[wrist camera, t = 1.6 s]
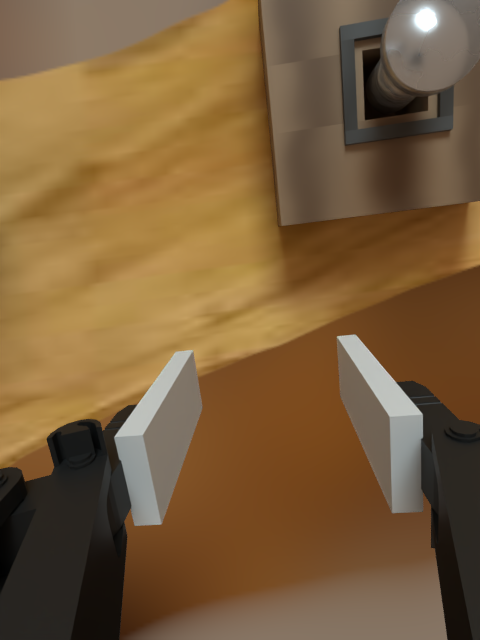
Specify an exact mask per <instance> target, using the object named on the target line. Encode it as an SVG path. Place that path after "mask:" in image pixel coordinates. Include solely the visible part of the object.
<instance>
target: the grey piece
mask: <svg viewBox="0 0 480 640" xmlns="http://www.w3.org/2000/svg"><path fill="white" fill-rule="evenodd" d="M380 57H381V58H380V60H379V61H378V63H377V64H376V66H375V67H374V69H373V70H372V72H371V73H370V75H369V77H368V80H367V83H366V96H367V99H368V101H369V103H370V105H371V106H372V107H373V108H374V109H375V110H377V111H378V112H381V113H386V114H389V113H395V112H397V111H399V110H401V109H403V108H404V107H405V106H406V105H407V104H408V103H410V102H411V101H412V100H413V99H414V98H415V97H426V96H432V95H436V94H439V93H441V92H443V91H445V90H447V89H448V88H450V87H451V86H453V85H454V84H456V83H457V82H458V81H459V80H461V79H462V78H463V77H464V76H466V75H467V74H468V73H469V72H470V71H471V70H472V69H473V68H474V66H475V65H476V64H477V62H478V61H479V59H480V0H399V2H398V3H397V5H396V7H395V8H394V10H393V12H392V13H391V15H390V17H389V19H388V21H387V23H386V25H385V27H384V30H383V33H382V37H381V43H380Z"/></svg>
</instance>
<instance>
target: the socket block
mask: <svg viewBox="0 0 480 640" xmlns="http://www.w3.org/2000/svg"><path fill="white" fill-rule="evenodd" d="M398 2H399V0H258V14H259V25H260V36H261V46H262V57H263V68H264V78H265V89H266V100H267V110H268V121H269V132H270V142H271V153H272V163H273V174H274V185H275V195H276V206H277V217H278V226H286V225H293V224H301V223H309V222H317V221H325V220H333V219H341V218H349V217H357V216H365V215H373V214H381V213H388V212H396V211H404V210H412V209H420V208H428V207H436V206H444V205H452V204H460V203H468V202H476V201H480V59H479V61H478V62H477V64H476V65H475V66H474V68H473V69H472V70H471V71H470V72H469V73H468V74H467V75H466V76H464V77H463V78H462V79H461V80H459V81H458V82H457V83H456V84H454V85H453V86H451V87H450V88H448V89H447V90H445V91H443V92H441V93H439V94H436V95H432V96H426V97H415V98H414V99H413V100H412V101H411V102H410V103H408V104H407V105H406V106H405V107H404V108H403V109H401V110H399V111H397V112H395V113H389V114H386V113H381V112H378V111H377V110H375V109H374V108H373V107H372V106H371V105H370V103H369V101H368V99H367V96H366V83H367V80H368V77H369V75H370V73H371V72H372V70H373V69H374V67H375V66H376V64H377V63H378V61H379V60H380V58H381V57H380V43H381V37H382V33H383V30H384V27H385V25H386V23H387V21H388V19H389V17H390V15H391V13H392V12H393V10H394V8H395V7H396V5H397V3H398Z"/></svg>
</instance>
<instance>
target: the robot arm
mask: <svg viewBox="0 0 480 640" xmlns="http://www.w3.org/2000/svg"><path fill="white" fill-rule="evenodd" d="M337 346H338V347H337V348H338V364H339V380H340V397H341V399H342V401H343V403H344V406H345V408H346V410H347V412H348V415H349V417H350V419H351V421H352V423H353V426H354V428H355V430H356V433H357V435H358V437H359V439H360V442H361V444H362V446H363V448H364V451H365V453H366V455H367V457H368V460H369V462H370V464H371V466H372V469H373V471H374V473H375V475H376V478H377V480H378V482H379V484H380V487H381V489H382V491H383V493H384V496H385V498H386V500H387V502H388V505H389V507H390V509H391V511H392V513H402V512H423V493H424V494H425V496H426V498H427V499H428V501H429V503H430V504H431V548H435V552H436V560H437V566H438V574H439V581H440V588H441V595H442V603H443V610H444V617H445V624H446V631H447V639H448V640H480V425H478V424H475V423H473V422H469V421H462V420H459V419H458V418H457V417H456V416H455V415H454V414H453V413H452V412H451V411H450V410H449V409H447V407H446V406H445V405H444V404H443V403H441V402H440V400H438V398H437V397H434V395H433V394H432V393H431V392H430V391H429V390H428V389H427V388H426V387H424V386H423V385H420V384H418V383H416V382H414V381H405V382H395V381H394V380H393V379H392V377H391V376H390V375H389V374H388V373H387V371H386V370H385V369H384V368H383V367H382V365H381V364H380V363H379V362H378V361H377V360H376V358H375V357H374V356H373V355H372V354H371V352H370V351H369V350H368V349H367V348H366V347H365V345H364V344H363V343H362V342H361V341H360V339H359V338H358V337H357V336H356V335H347V336H338V337H337ZM201 410H202V402H201V396H200V390H199V384H198V377H197V371H196V365H195V359H194V353H193V350H190V351H180V352H175V354H174V355H173V357H172V358H171V359H170V361H169V362H168V363H167V365H166V366H165V368H164V369H163V370H162V372H161V373H160V375H159V376H158V377H157V379H156V380H155V381H154V383H153V384H152V386H151V387H150V388H149V390H148V391H147V393H146V394H145V395H144V397H143V398H142V399H141V401H140V402H139V404H138V405H128V406H127V407H125V408H124V409H122V410H121V411H119V412H118V413H117V414H116V415H115V416H114V418H113V419H112V420H111V421H110V423H109V424H108V425H107V426H106V428H105V430H103V431H102V427H101V423H100V422H99V421H97V420H93V419H86V420H79V421H75V422H72V423H69V424H66V425H64V426H62V427H60V428H58V429H57V430H55V431H54V432H52V433H51V434H50V435H49V436H48V437H47V442H48V446H49V449H50V452H51V456H52V460H53V463H54V469H53V472H52V474H51V475H49V476H45V477H41V478H37V479H34V480H30V481H26V482H25V481H24V477H23V474H22V471H21V470H20V469H18V468H13V467H8V468H3V469H0V640H119V635H120V623H121V610H122V598H123V585H124V572H125V560H126V547H127V532H126V528H125V524H124V520H125V519H126V516H127V514H128V512H129V510H130V508H131V512H132V517H133V521H134V525H135V526H137V525H156V524H157V525H158V524H162V521H163V518H164V515H165V513H166V510H167V507H168V504H169V501H170V499H171V496H172V493H173V490H174V487H175V484H176V481H177V479H178V476H179V472H180V470H181V467H182V464H183V461H184V459H185V456H186V453H187V450H188V447H189V444H190V442H191V439H192V436H193V433H194V430H195V427H196V424H197V422H198V419H199V416H200V413H201Z"/></svg>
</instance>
